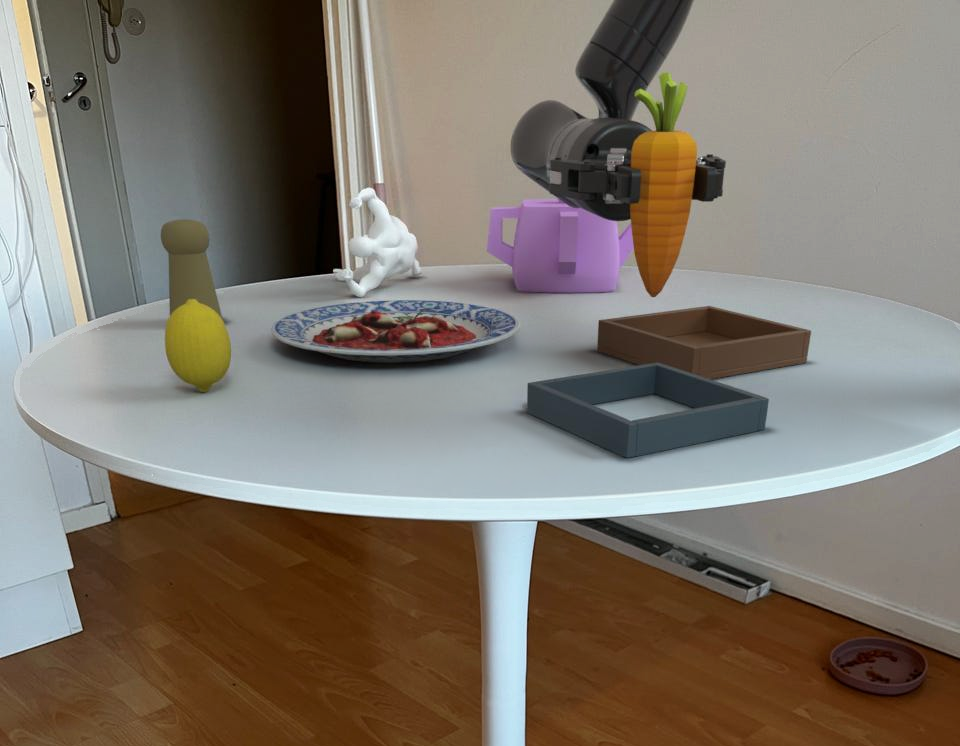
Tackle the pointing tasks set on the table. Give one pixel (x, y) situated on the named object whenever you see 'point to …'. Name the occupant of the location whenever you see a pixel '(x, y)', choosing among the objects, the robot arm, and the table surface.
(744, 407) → the dark blue-gray square frame
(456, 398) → the table surface
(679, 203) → the carrot
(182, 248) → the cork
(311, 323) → the ceramic plate
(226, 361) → the lemon
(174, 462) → the table surface
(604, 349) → the walnut tray
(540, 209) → the teakettle
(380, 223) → the person figurine
